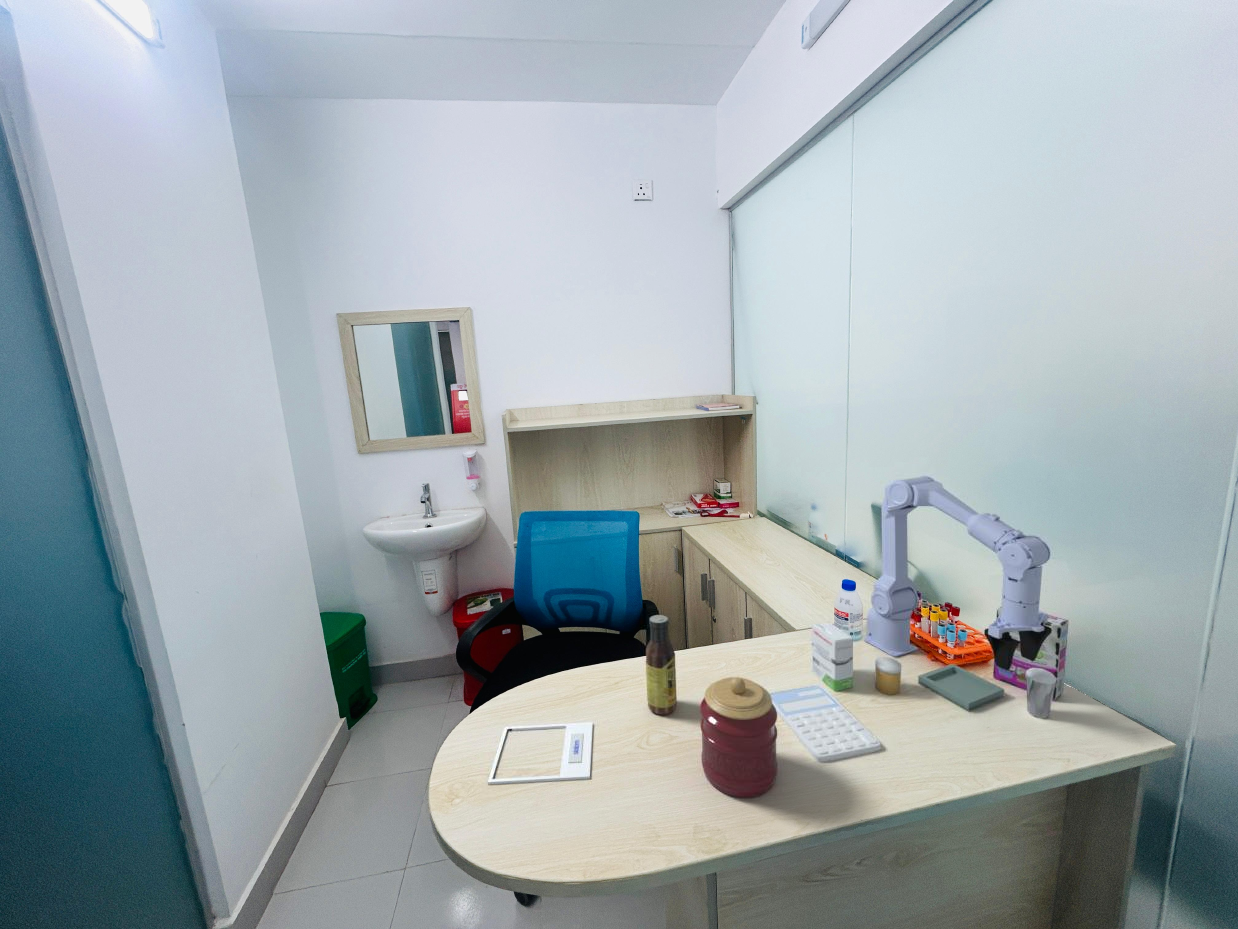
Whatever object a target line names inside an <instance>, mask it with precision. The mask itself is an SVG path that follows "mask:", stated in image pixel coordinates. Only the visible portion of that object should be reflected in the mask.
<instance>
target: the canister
mask: <svg viewBox="0 0 1238 929" xmlns="http://www.w3.org/2000/svg"><path fill="white" fill-rule="evenodd" d="M769 693H770V692H769V691H768V690H767V689H766V688H764V687H763V686H762V685H760V684H759V683H757V682H755V681H753V680H750V679H747V678H744V677H740V676H739V677H738V676H732V677H726V678H722V679H719V680H717V681H714V682H713V683H711V684H710V685H709V686H708V687H707V688H706V690H705V693H704V698H703V699H702V700H701V703H700V706H699V709H700V710H699V711H700V714H701V716H702V718H701V721H700V732H701V742H702V743H701V745H702V746H701V748H702V751H701V765H702V768H703V772H704V776H705V778H706V779H707V781H708V782H709V783H710V784H711V785H712V786H713V787H714V788H716V789H717V790H719V792H722V793H724V794H726V795H729V796H733V797H735V798H736V797H737V798H746V799H747V798H748V799H749V798H754V797H759V796H762V795H763V794H765V793H767V792H768V791H770V790H771V788H772V787H773V786H774V784H775V782H776V777H777V774H778V760H777V739H778V729H777V726H776V723H777V721H778V713H777V711H776V708H775V706H774V705H773V704H772V699H771V696H770V694H769Z"/></svg>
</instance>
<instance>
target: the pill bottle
mask: <svg viewBox="0 0 1238 929" xmlns="http://www.w3.org/2000/svg"><path fill="white" fill-rule="evenodd" d="M874 662H875V682H874V687H875V689H876V691H878V692H879V693H881V694H883V695H887V696H897V695H900V693H901V679H902V678H901V677H902V676H901V675H902V667H903V666H902V663H901V662H899V661H898V660H896V659H895V658H894V659H893V658H891V657H887V656H886V657H884V656H883V657H882V656H881V657H878V658H876V659H875V661H874Z"/></svg>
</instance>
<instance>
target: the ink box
mask: <svg viewBox="0 0 1238 929" xmlns="http://www.w3.org/2000/svg"><path fill="white" fill-rule="evenodd" d="M811 647H812V648H811V672H812V674H814V675H815V676H816V677H817V678H819V679H820V680H821V681H822V682H823V683H825V684H826V685H827V686H828V687H829V688H830V689H831V690H833V691H834V692H838V691H843V690H847V689H850V688H853V687H854V685H853V684H854V677H853V676H854V638H853V637H852V636H850V635H849V634H847V633H845V632H844V631H843V630H841V629H840V628H838V627H837V626H836V625H834V624H832V623H831V622H824V623H818V624H817V623H816V624H812V626H811Z"/></svg>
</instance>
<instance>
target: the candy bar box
mask: <svg viewBox="0 0 1238 929" xmlns="http://www.w3.org/2000/svg"><path fill="white" fill-rule="evenodd" d="M1000 614H1001V606H1000V607H999V608H997V609H996V619H997V618H998V617H999V615H1000ZM1043 625H1045V626H1048V627H1050V628H1051V629H1052V633H1051V634H1050V635H1049V636H1048V637H1047V638H1046V639H1045V641H1044V642H1043V644H1042V645H1041V648H1040V650H1039V652H1038V654H1037V657H1036V659H1035V661H1031V660H1028V659H1026V658H1024V657H1022V656H1021V652H1020V644H1019V645H1018V646H1017V648H1016V650H1015V652H1014V655H1013V659H1012V664H1011V667H1010V669H1009V670H1005V669H1002V668H1000V667H998V666H996V662H995V658H994V657H993V669H992V670H993V675H992V677H993V678H994V679H995V680H999V681H1001V682H1003V683H1006V684H1008V685H1011V686H1014V687H1016V688H1019V689H1021V690H1024V691H1027V678H1026V671H1027V670H1028V669H1030V668H1041V669H1044V670H1046V671H1049V672H1051V673H1052V674H1053V675H1054V676H1055V677H1056V678H1057V677H1058V676H1059V674H1060V673H1061V672H1062V671H1063V673H1062V674H1061V675H1060V676H1059V677H1058V679H1057V680H1056V684H1055V689H1054V693H1053V698H1052V702H1053V701H1054V702H1055V701H1057V699H1058V698H1060V696H1062V695H1063V693H1064V686H1065V672H1066V671H1065V670H1066V658H1067V645H1068V633H1069V619H1066V618H1061V617H1058V616H1054V615H1050V614H1048V620H1047V623H1045V624H1043ZM1010 636H1011V638H1013V639H1016V640H1018V641H1020V636H1019V632H1018V631H1013V632H1010Z"/></svg>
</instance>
